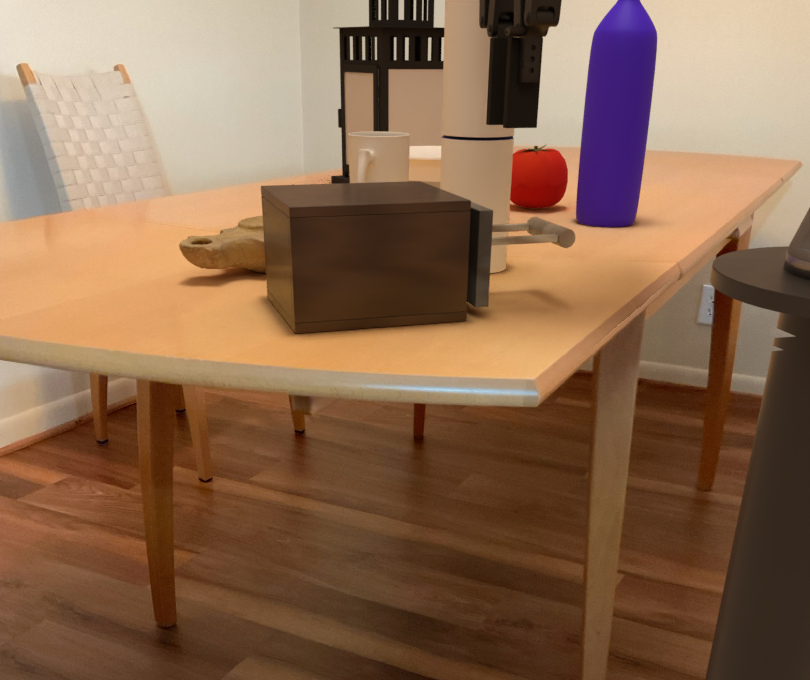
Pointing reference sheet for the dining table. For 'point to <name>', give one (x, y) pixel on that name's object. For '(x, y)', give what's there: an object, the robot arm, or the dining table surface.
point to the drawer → (483, 241)
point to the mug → (379, 157)
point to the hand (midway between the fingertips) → (511, 125)
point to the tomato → (538, 178)
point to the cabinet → (365, 254)
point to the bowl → (425, 164)
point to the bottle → (616, 116)
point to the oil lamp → (229, 247)
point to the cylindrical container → (473, 123)
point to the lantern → (391, 77)
